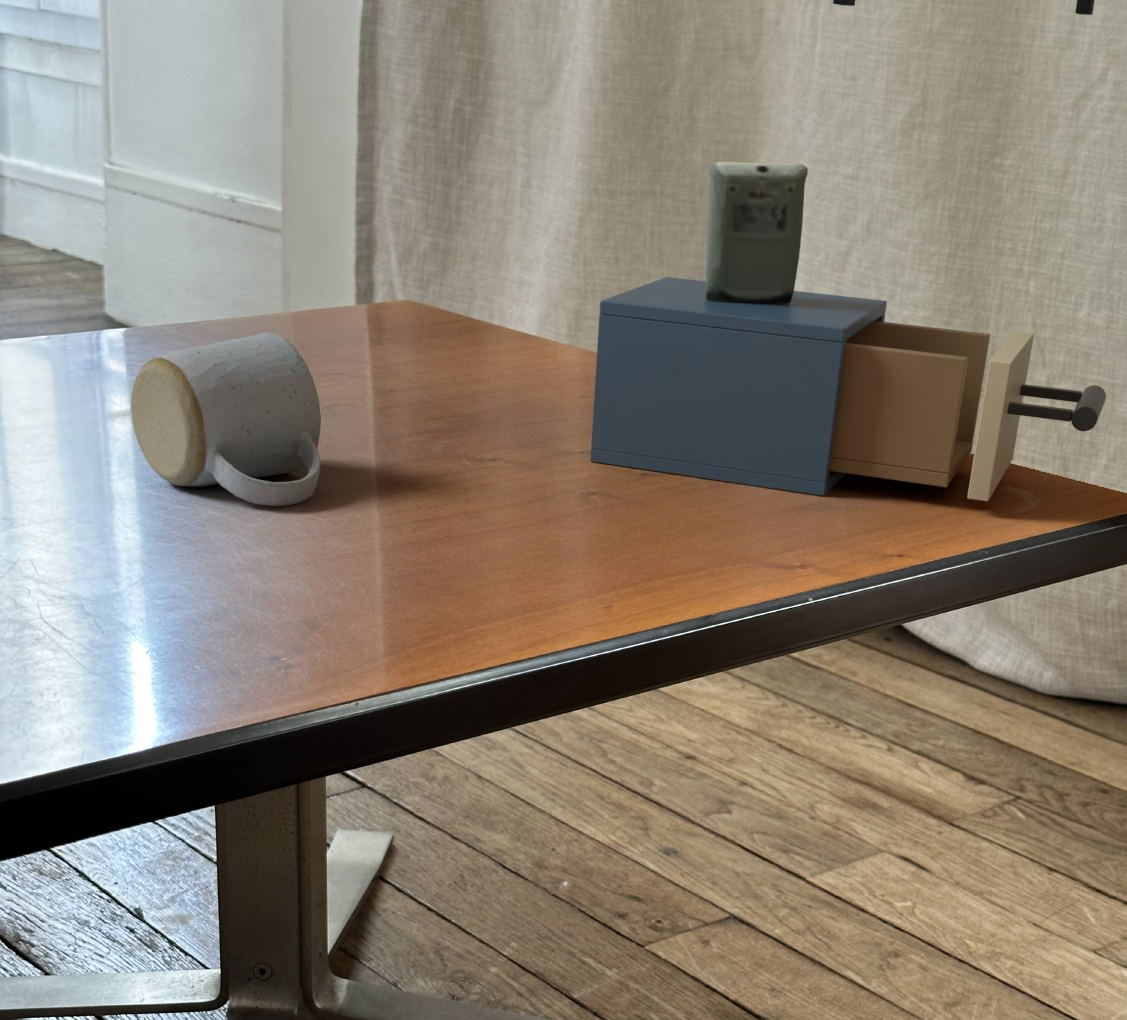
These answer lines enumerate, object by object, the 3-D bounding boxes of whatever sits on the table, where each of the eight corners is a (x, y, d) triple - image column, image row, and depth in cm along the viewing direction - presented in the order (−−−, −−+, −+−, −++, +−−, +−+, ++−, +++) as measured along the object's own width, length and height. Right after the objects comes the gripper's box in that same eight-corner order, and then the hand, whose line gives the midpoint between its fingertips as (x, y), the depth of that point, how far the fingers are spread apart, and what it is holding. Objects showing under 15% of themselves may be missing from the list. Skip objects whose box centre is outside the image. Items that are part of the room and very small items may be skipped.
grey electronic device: (737, 310, 93) (751, 164, 90) (679, 296, 97) (690, 156, 93) (807, 305, 96) (823, 164, 93) (748, 292, 100) (762, 156, 97)
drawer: (1093, 470, 99) (1118, 342, 95) (1077, 514, 89) (1104, 373, 86) (802, 431, 104) (816, 309, 101) (757, 468, 94) (771, 334, 91)
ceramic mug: (125, 473, 89) (117, 333, 86) (248, 454, 94) (245, 321, 91) (232, 522, 82) (229, 372, 79) (359, 498, 88) (360, 357, 84)
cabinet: (867, 452, 104) (887, 300, 100) (824, 496, 93) (844, 328, 89) (654, 422, 108) (665, 276, 104) (589, 461, 98) (599, 300, 94)
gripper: (1274, -432, 82) (1191, 19, 91) (800, -412, 90) (765, 3, 99) (1280, -476, 76) (1189, 15, 85) (769, -450, 83) (733, -2, 92)
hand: (961, 9), depth 92 cm, fingers open, 13 cm apart
